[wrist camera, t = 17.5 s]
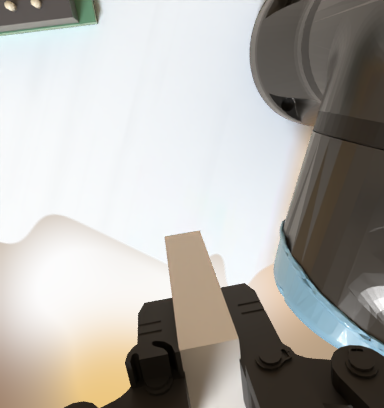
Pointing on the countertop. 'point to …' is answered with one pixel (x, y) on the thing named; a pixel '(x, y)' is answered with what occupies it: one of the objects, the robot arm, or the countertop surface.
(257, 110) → the countertop surface
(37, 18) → the socket board
